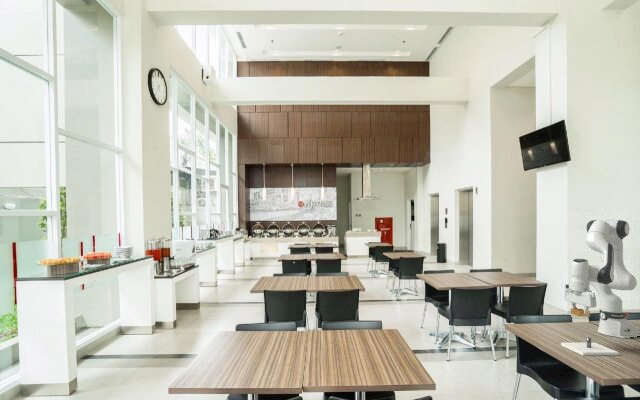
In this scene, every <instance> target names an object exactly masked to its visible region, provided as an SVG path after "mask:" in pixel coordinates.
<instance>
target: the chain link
mask: <svg viewBox="0 0 640 400" xmlns="http://www.w3.org/2000/svg"><path fill="white" fill-rule="evenodd" d="M584 309H585V308H577V309H573V307H572V308H570V314H571V315H574V316H577V317H583V318H584V317H586V318H587V317H588V318H590V315H591V313H590V310H588V314H583V310H584Z"/></svg>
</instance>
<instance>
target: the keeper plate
mask: <svg viewBox="0 0 640 400" xmlns="http://www.w3.org/2000/svg"><path fill="white" fill-rule="evenodd" d="M560 345H561V346H562V347H564V348H565V349H568V350H570V351H572V352H575V353H577V354H579V355H581V356H586V357H587V356H619V355H620V352H619V351H617V350H614V349H611V348H609V347H606V346H604V345H601V344H600V343H597V342H592V338H591V337H586V342H560Z"/></svg>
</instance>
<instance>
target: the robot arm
mask: <svg viewBox="0 0 640 400" xmlns="http://www.w3.org/2000/svg"><path fill="white" fill-rule="evenodd" d="M630 230H631V229H630V225H629V223H628V222H627V221H626V220H621V219H619V220H618V219H598V220H597V219H592V220H590V221H589V222H587V224H586V232H587V234H586V237H585V243H586V245H587V246H588V247H589V248H590V249H591V250H593V251H594V252H597V253H600V260H601V262H602V263H603V264H602V265H593V264H589V263H590V262H589V260H587V259H586V258H585V259H584V258H575V259H573V260H572V261H571V265H570V275H571V279H570V283H567V284H564V300H565V301H567V302H570V304H571V307H572V308H573V309H578V307H577V306H576V305H580V306H583V307H584V308H583V309H584V310H583V314H588V311H590V308H594V309H595V308H597V297H596V295H595V294H596V293H595V292H594V291H593V290H591V289H590V286H591V287H593V288H594V289H595V291H596V292H597V294H598V296H599V297H598V298H599V307H600V308H599V324H598V327H597V328H598V329H597V333H599V334H602V335H604V336H605V335H606V336H608V337H611V336H612V337H615V338H620V339H630V337H634V338H638V337H637V336H640V333H638V332H637V329H636V326H635V324H633V323H632V322H630V321H629V320H628V319H627V318H628V317H629V316H630V314H629V313H627V312H623V300H622V299H621V298H620V296H618V295H616V294H614V292H613V291H612V290H616V291H617V290H618V291H633V290H634V289H636V287H637V285H638V281H637V278H636V277H635V276H634V274H632V273H631V272H629V270H628V269H627V268H626V266H625V263H624V244H623V240H624V238H627V236H628V235H629V234H630ZM626 317H627V318H626Z"/></svg>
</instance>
